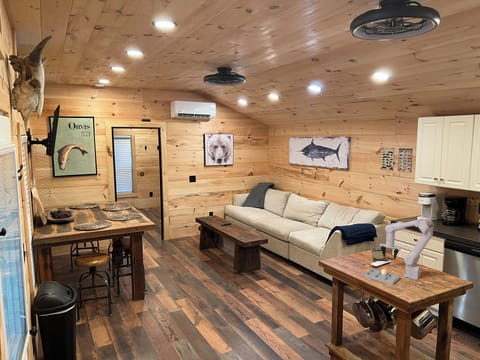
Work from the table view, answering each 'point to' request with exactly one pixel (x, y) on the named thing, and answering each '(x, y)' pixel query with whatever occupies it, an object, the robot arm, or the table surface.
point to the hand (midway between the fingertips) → (389, 257)
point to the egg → (384, 272)
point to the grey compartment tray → (382, 276)
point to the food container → (378, 254)
